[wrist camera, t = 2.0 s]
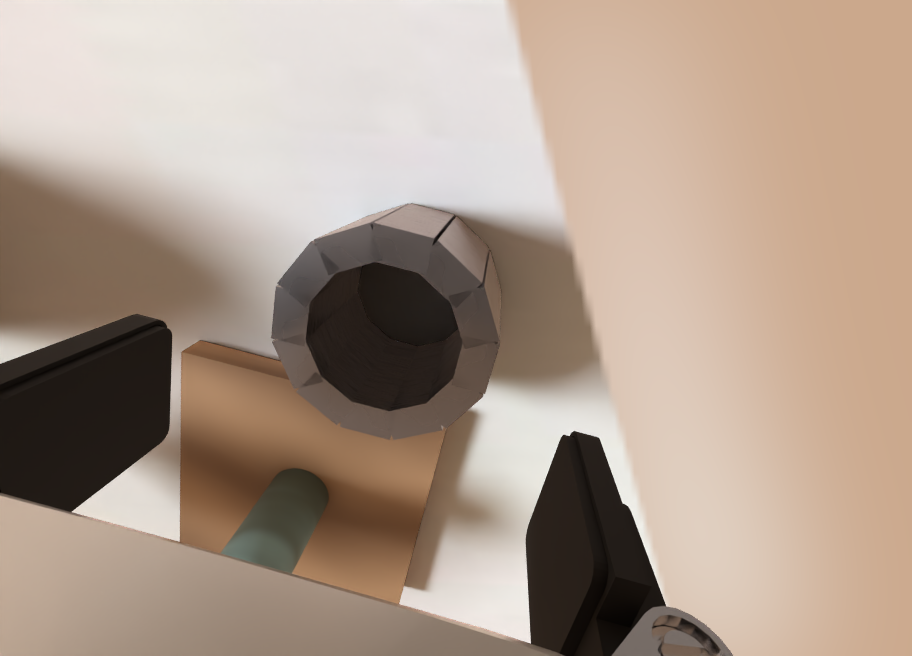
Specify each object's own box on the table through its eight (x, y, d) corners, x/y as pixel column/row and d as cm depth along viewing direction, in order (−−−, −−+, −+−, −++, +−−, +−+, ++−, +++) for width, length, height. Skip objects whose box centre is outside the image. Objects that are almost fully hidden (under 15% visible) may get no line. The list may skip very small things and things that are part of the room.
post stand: (200, 340, 19) (-1, 462, 12) (451, 405, 19) (415, 572, 12) (195, 531, 23) (44, 714, 16) (402, 586, 23) (352, 798, 16)
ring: (346, 186, 16) (283, 199, 12) (519, 231, 16) (524, 261, 12) (324, 344, 19) (265, 407, 14) (475, 383, 19) (465, 459, 14)
